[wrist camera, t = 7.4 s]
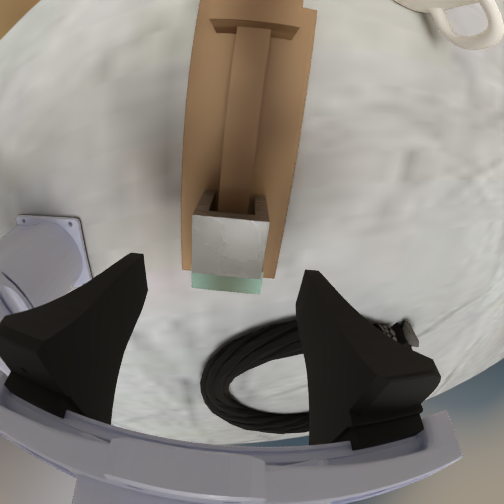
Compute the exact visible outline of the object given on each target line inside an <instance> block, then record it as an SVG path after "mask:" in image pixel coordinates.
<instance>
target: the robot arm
mask: <svg viewBox="0 0 504 504" xmlns="http://www.w3.org/2000/svg"><path fill="white" fill-rule="evenodd" d="M16 222H17V226H16V227H15V228H13V229H12V230H11V231H10V232H9V233H7V234H6V235H5V236H4V237H3V238H1V239H0V434H1V435H2V436H4V437H5V438H6V439H8V440H9V441H11V442H12V443H14V444H15V445H17V446H19V447H20V448H21V449H23V450H25V451H26V452H28V453H29V454H31V455H33V456H35V457H36V458H38V459H40V460H41V461H43V462H45V463H47V464H49V465H51V466H53V467H55V468H57V469H58V470H61V471H62V472H65V473H67V474H69V475H71V476H73V477H75V478H77V481H76V485H75V490H74V496H73V500H72V504H346V503H350V502H354V501H359V500H362V499H366V498H370V497H373V496H376V495H380V494H383V493H386V492H389V491H392V490H395V489H398V488H400V487H403V486H406V485H408V484H411V483H413V482H416V481H418V480H421V479H423V478H425V477H428V476H430V475H431V474H434V473H436V472H438V471H440V470H441V469H443V468H445V467H447V466H449V465H450V464H452V463H454V462H456V461H457V460H459V459H461V458H462V456H463V455H462V452H461V449H460V446H459V443H458V440H457V437H456V434H455V431H454V428H453V426H452V423H451V420H450V417H449V415H448V413H447V411H442V412H439V413H436V414H433V415H430V416H427V417H425V418H423V419H422V420H421V417H420V413H421V412H422V411H423V408H422V406H421V403H422V402H423V401H424V400H425V399H426V398H427V397H428V396H429V395H430V394H431V393H432V392H433V391H434V390H435V389H436V388H437V386H438V384H439V383H440V380H441V376H440V374H439V372H438V369H437V367H436V365H435V363H434V361H433V359H431V358H428V357H426V356H424V355H422V354H419V353H417V352H415V351H413V350H411V349H409V348H407V347H406V346H404V345H402V344H400V343H399V342H397V341H395V340H394V339H392V338H391V337H389V336H388V335H386V334H385V333H383V332H382V331H380V330H379V329H378V328H376V327H375V326H374V325H372V324H371V323H370V322H369V321H368V320H366V319H365V318H364V317H363V316H362V315H360V314H359V313H358V312H357V311H356V310H355V309H354V308H353V307H352V306H351V305H350V304H349V303H348V302H347V301H346V300H345V299H344V298H343V297H342V296H341V295H340V294H339V293H338V292H337V290H336V289H335V288H334V287H333V286H332V285H331V284H330V283H329V282H328V281H327V279H326V278H325V277H324V276H323V275H322V274H321V273H320V272H319V271H315V270H305V272H304V276H303V280H302V284H301V287H300V291H299V294H298V298H297V301H296V317H297V325H298V330H299V335H300V340H301V344H302V349H303V354H304V358H305V363H306V369H307V379H308V392H309V446H294V447H237V446H223V445H211V444H202V443H194V442H187V441H180V440H174V439H168V438H163V437H157V436H153V435H148V434H143V433H139V432H135V431H131V430H127V429H123V428H120V427H116V426H112V425H111V417H112V408H113V401H114V394H115V388H116V383H117V379H118V374H119V370H120V366H121V362H122V358H123V354H124V351H125V349H126V346H127V343H128V341H129V339H130V336H131V334H132V332H133V329H134V327H135V325H136V322H137V320H138V318H139V315H140V313H141V311H142V308H143V305H144V302H145V299H146V295H147V292H148V287H147V280H146V272H145V264H144V255H143V254H139V253H130V254H128V255H127V256H125V257H123V258H122V259H121V260H119V261H118V262H116V263H115V264H113V265H112V266H111V267H109V268H108V269H106V270H105V271H103V272H102V273H101V274H99V275H97V276H96V277H94V278H93V279H92V276H91V272H90V268H89V264H88V260H87V255H86V251H85V246H84V241H83V236H82V230H81V224H80V221H79V220H78V219H77V218H68V217H51V216H32V215H18V216H17V217H16ZM70 222H71V223H72V224H71V223H70ZM72 286H75V287H79V288H77V289H75V290H73V291H71V292H70V293H68V292H69V290H70V289H71V288H72ZM67 293H68V294H67Z"/></svg>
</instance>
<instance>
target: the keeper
mask: <svg viewBox="0 0 504 504" xmlns="http://www.w3.org/2000/svg"><path fill="white" fill-rule="evenodd" d="M215 195H216V191H212V190H204V192H203V194H202V196H201V198H200V200H199V202H198V204H197V206H196V208H195V211H194V213H193V215H192V273H200V274H209V275H219V276H230V277H240V278H251V279H261V274H262V268H263V262H264V255H265V249H266V243H267V237H268V231H269V224H270V220H269V214H268V207H267V201H266V196H263V195H255V196H254V204H253V212H252V215H247V214H237V213H227V212H216V211H214V210H215Z"/></svg>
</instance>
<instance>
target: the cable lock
mask: <svg viewBox="0 0 504 504" xmlns="http://www.w3.org/2000/svg"><path fill="white" fill-rule="evenodd" d="M375 327H376V328H378V329H379V330H380V331H382V332H383V333H385V334H386V335H388V336H389V337H391V338H392V339H394V340H395V341H397V342H399V343H400V344H402V345H404V346H406V347H407V348H409V349H411V350H412V348H411V347H412V346H414V347H419V341H418V339H417V337H416V335H415V333H414V331H413V329H412V327H411V325H410V324H409V323H407V322H406V321H404V323H403V326H402V328H401V327H400V326H399V324H398V322H397V323H396V324H395V325H393V326H392V327H391V328H390V327H388V326H387V325H385V326H384V325H383V324H377V323H376V324H375ZM299 354H303V349H302V344H301V340H300V335H299V330H298V325H297V321H292V322H288V323H284V324H279V325H275V326H271V327H268V328H265V329H262V330H259V331H257V332H255V333H252V334H250V335H247V336H245V337H242V338H240V339H237V340H235V341H233V342H232V343H230V344H229V345H228V346H226V347H225V348H224V349H222V350H221V351H220V352H219V353H218V354H217V355H216V356H215V357H213V358H212V359H211V360H210V361H209V362H208V364H207V366H206V368H205V369H204V372H203V375H202V378H201V382H200V386H201V394H202V396H203V399H204V402H205V404H206V405H207V406H208V408H209V409H210V410H211V411H212V413H214V414H215V415H217V416H219V417H220V418H222V419H223V420H225V421H227V422H228V423H230V424H232V425H235V426H237V427H240V428H243V429H245V430H252V431H260V432H266V433H276V434H285V433H302V432H308V431H309V413H303V414H294V415H285V416H283V415H275V414H269V413H259V412H255V411H252V410H251V409H248V408H246V407H243V406H241V405H239V404H237V403H236V402H235V401H234V400H233V399H232V398H231V396H230V395H229V392H228V388H229V384H230V383H231V382H232V381H233V379H234V378H235V377H237V376H238V375H240V374H242V373H244V372H245V371H247V370H249V369H252V368H254V367H257V366H259V365H261V364H264V363H266V362H268V361H271V360H275V359H280V358H285V357H290V356H294V355H299Z"/></svg>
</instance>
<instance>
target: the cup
mask: <svg viewBox="0 0 504 504" xmlns="http://www.w3.org/2000/svg"><path fill="white" fill-rule="evenodd" d="M394 1H396V2H397V3H399V4H401V5H403V6H405V7H407V8H409V9H412V10H414V11H418V12H423V13H431V15H432V17H433V20H434V22H435V24H436V25H437V27H438V29H439V30H440V32H441V33H442V34H443V36H444V37H445V38H446V39H447V40H448V41H450V42H451V43H452V44H454V45H456V46H458V47H460V48H463V49H468V50H479V49H485V48H488V47H491V46H493V45H495V44H497V43H498V42H499V41H500V40H501V38H502V36H503V33H504V23H503V19H502V16H501V13H500V11H499V9H498V6H497V4H496V2H495V0H394ZM478 2H480V4H481V6H482V8H483V10H484V12H485V14H486V16H487V19H488V28H487V29H486V30H485V31H484V32H482V33H480V34H478V35H475V36H461V35H458V34H457V33H455V32H454V31H453V29H452V28H451V26H450V24H449V22H448V19H447V17H446V14H445V11H444V10H448V9H451V8H455V7H459V6H463V5H468V4H473V3H478Z"/></svg>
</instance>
